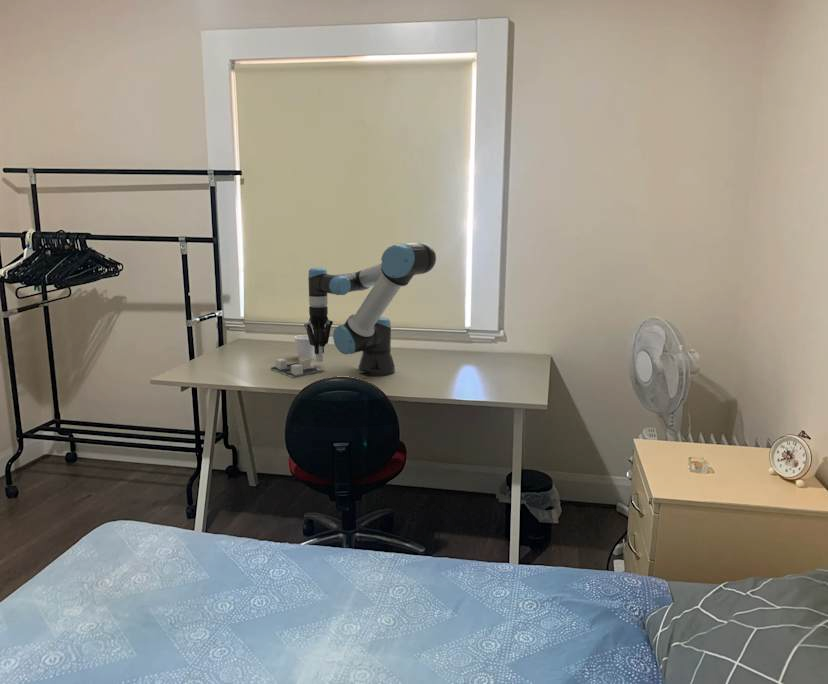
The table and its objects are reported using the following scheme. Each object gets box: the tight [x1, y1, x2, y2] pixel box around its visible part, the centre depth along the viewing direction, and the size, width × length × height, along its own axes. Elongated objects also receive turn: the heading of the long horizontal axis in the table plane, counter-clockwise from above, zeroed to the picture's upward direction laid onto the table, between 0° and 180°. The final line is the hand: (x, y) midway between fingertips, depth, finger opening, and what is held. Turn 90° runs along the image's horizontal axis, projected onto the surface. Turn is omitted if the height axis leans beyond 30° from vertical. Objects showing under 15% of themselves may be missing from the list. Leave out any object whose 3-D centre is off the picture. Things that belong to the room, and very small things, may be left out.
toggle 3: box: [298, 358, 311, 369], centre depth 285 cm, size 4×3×4 cm
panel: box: [269, 361, 327, 379], centre depth 283 cm, size 18×16×2 cm
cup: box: [293, 334, 315, 361], centre depth 302 cm, size 10×10×11 cm
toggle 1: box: [274, 358, 288, 369], centre depth 284 cm, size 4×3×4 cm
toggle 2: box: [291, 364, 303, 375], centre depth 276 cm, size 4×3×4 cm
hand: (319, 361), depth 290 cm, fingers closed
